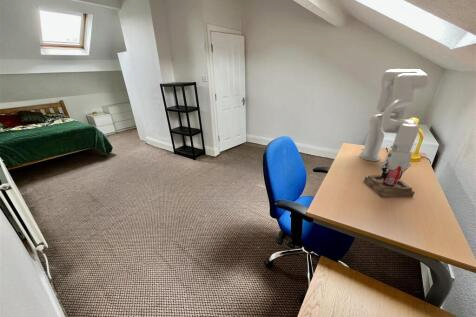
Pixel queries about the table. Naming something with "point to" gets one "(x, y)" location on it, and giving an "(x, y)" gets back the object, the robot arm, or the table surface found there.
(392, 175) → the soda can
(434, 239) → the table surface
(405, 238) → the table surface
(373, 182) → the walnut tray
